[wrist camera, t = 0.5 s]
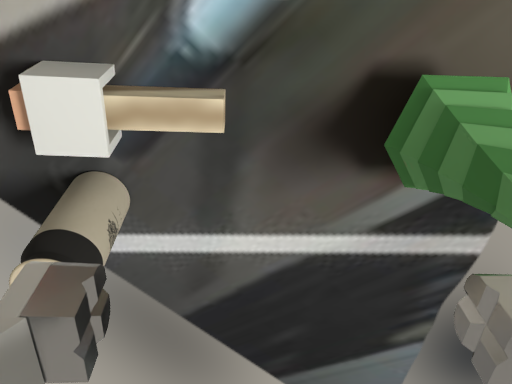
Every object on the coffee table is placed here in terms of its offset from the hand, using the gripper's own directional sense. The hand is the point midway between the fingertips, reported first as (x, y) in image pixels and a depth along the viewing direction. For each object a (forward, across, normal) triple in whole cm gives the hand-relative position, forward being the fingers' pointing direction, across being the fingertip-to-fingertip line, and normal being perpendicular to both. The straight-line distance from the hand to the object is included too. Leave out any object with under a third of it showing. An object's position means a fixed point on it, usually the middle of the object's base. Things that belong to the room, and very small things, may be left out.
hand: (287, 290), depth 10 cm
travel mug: (+43, +19, +24) cm, 53 cm away
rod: (+43, +12, +10) cm, 46 cm away
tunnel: (+43, +20, +10) cm, 48 cm away
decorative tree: (+43, -22, +10) cm, 50 cm away
